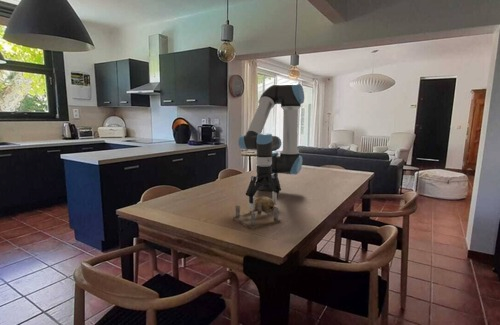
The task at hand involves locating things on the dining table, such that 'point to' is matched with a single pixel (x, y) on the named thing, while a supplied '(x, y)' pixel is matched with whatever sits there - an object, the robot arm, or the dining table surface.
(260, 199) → the bread roll
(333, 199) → the dining table surface
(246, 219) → the trivet
